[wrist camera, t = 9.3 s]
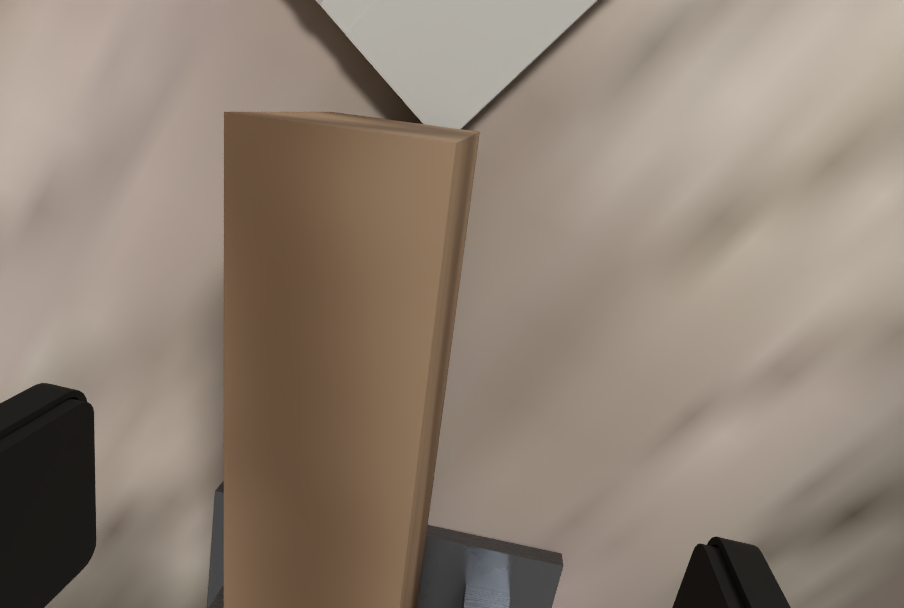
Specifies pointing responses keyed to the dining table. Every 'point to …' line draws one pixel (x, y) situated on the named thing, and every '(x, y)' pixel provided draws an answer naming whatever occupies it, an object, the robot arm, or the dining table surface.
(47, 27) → the dining table surface
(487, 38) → the baseboard molding
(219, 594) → the bracket
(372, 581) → the rail
